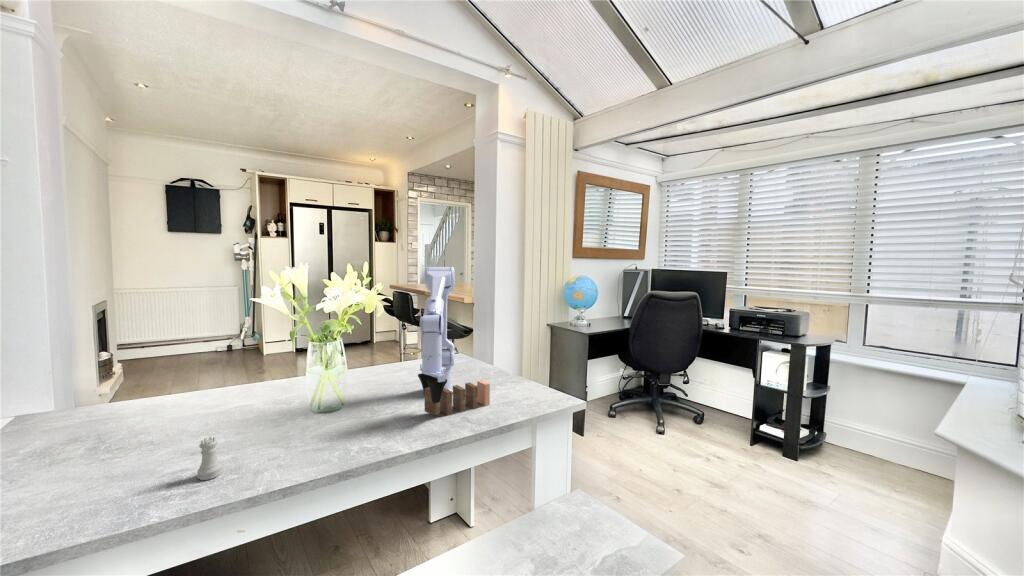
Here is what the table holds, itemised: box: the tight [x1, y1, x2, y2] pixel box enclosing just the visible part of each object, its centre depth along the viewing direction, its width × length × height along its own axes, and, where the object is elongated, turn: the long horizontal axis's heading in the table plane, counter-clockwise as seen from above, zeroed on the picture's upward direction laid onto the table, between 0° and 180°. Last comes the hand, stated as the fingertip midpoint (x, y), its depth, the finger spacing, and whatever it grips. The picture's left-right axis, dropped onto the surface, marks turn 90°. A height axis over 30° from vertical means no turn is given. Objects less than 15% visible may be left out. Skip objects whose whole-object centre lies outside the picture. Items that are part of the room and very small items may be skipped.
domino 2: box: [440, 388, 453, 416], centre depth 124 cm, size 2×5×7 cm, turn 36°
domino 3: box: [452, 384, 466, 413], centre depth 127 cm, size 2×5×7 cm, turn 37°
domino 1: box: [424, 387, 441, 416], centre depth 122 cm, size 2×5×7 cm, turn 54°
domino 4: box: [464, 382, 479, 410], centre depth 130 cm, size 2×5×7 cm, turn 37°
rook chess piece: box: [196, 436, 223, 481], centre depth 87 cm, size 4×4×8 cm
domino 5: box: [476, 379, 491, 407], centre depth 132 cm, size 2×5×7 cm, turn 36°
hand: (432, 399), depth 122 cm, fingers closed on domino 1, 5 cm apart
